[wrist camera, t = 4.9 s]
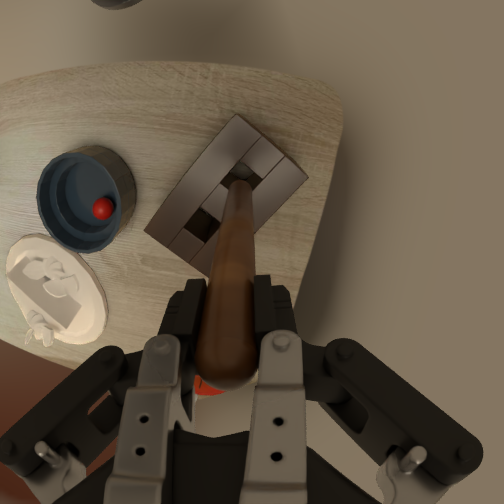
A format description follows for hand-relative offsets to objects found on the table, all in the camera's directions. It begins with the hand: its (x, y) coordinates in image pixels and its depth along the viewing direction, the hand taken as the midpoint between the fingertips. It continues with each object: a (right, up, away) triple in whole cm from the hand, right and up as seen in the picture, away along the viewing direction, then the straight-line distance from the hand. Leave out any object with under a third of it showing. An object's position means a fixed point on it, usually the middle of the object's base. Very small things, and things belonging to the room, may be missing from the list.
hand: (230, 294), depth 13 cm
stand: (-2, +11, +26) cm, 28 cm away
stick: (0, +3, +5) cm, 6 cm away
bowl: (-22, +11, +26) cm, 36 cm away
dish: (-37, -6, +34) cm, 51 cm away
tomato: (-20, +8, +25) cm, 33 cm away
